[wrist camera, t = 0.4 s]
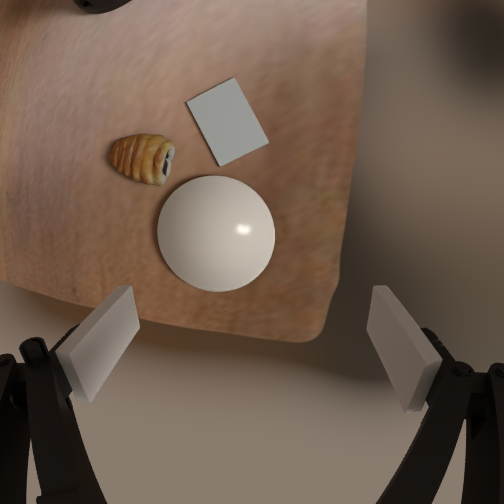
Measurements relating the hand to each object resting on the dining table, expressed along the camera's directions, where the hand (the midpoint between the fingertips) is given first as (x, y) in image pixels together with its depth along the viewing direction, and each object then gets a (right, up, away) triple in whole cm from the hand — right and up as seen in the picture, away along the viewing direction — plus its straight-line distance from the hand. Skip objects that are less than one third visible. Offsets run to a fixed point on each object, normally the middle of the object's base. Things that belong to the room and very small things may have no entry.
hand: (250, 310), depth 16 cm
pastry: (-14, +16, +23) cm, 31 cm away
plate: (-5, +5, +25) cm, 26 cm away
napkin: (-3, +20, +21) cm, 29 cm away
